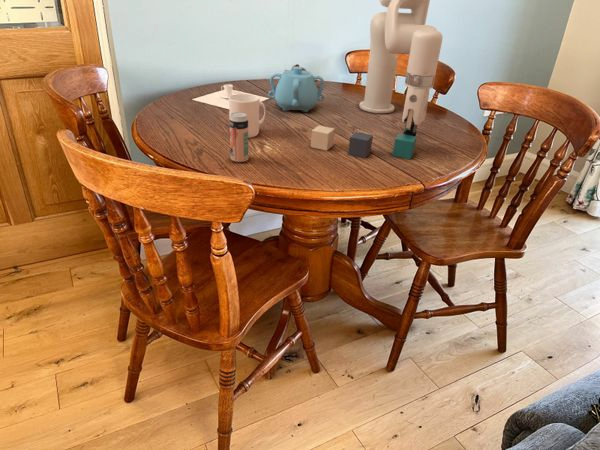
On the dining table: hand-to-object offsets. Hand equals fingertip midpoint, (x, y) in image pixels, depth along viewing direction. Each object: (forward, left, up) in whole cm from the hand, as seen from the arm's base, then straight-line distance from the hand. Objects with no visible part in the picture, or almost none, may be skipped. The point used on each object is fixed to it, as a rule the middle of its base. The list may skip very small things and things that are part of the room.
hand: (408, 144), depth 132 cm
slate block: (+11, -11, -1) cm, 15 cm away
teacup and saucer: (-14, -68, -1) cm, 70 cm away
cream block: (+11, -22, -1) cm, 25 cm away
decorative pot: (-18, -44, -1) cm, 48 cm away
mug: (+13, -45, -1) cm, 47 cm away
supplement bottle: (+32, -37, -1) cm, 49 cm away
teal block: (+5, 0, -1) cm, 5 cm away
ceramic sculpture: (-45, -56, -1) cm, 72 cm away
